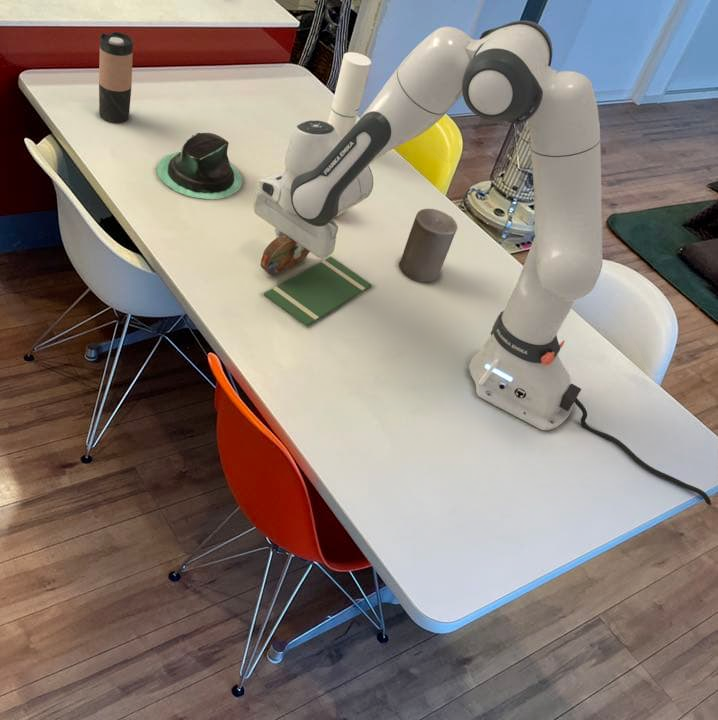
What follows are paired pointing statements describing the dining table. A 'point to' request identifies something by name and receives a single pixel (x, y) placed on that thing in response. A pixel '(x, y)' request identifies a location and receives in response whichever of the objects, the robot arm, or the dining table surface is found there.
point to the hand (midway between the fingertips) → (288, 251)
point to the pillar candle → (427, 245)
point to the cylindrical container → (349, 92)
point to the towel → (317, 291)
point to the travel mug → (115, 76)
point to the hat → (201, 168)
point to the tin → (280, 255)
